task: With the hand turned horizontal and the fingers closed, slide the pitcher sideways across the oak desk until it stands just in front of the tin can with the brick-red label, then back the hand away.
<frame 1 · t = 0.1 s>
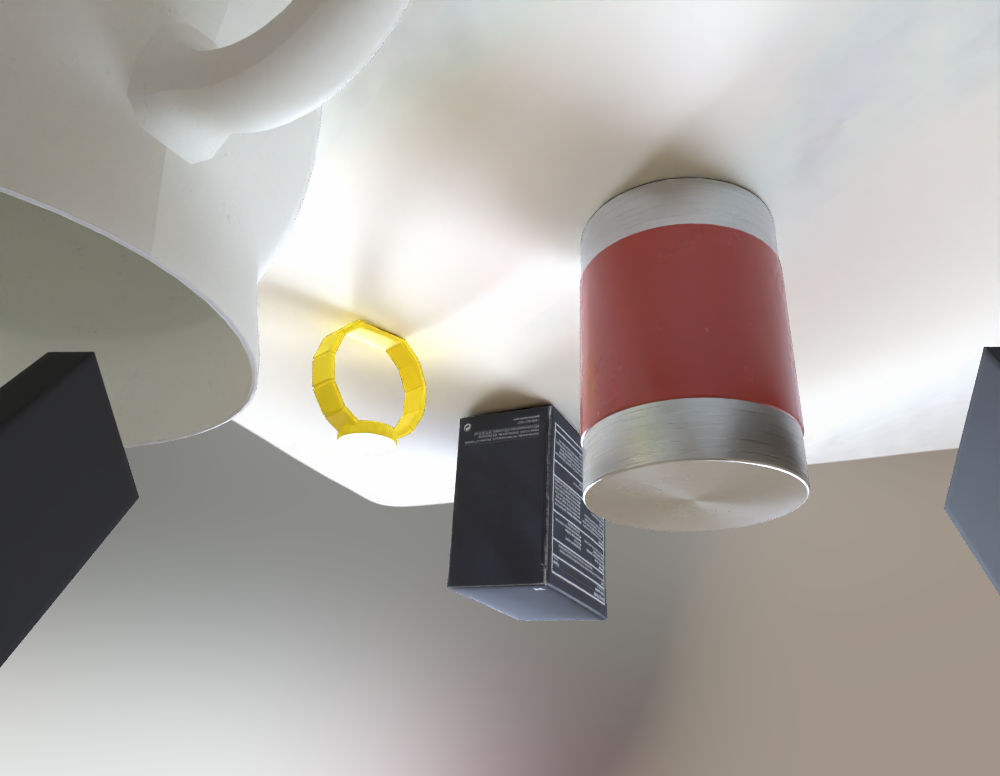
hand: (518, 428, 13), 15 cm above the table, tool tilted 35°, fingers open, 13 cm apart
tin can: (675, 240, 33), on the table
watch: (377, 329, 41), on the table
small box: (534, 438, 53), on the table
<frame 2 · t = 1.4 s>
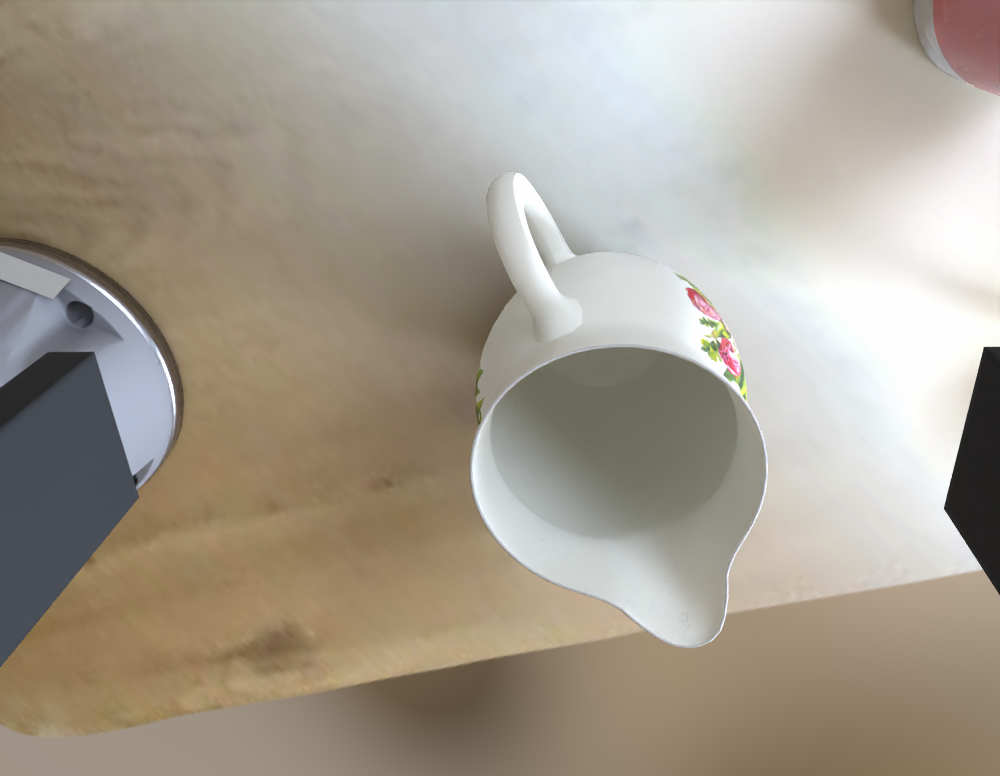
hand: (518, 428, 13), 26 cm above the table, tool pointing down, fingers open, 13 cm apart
pitcher: (593, 308, 40), on the table
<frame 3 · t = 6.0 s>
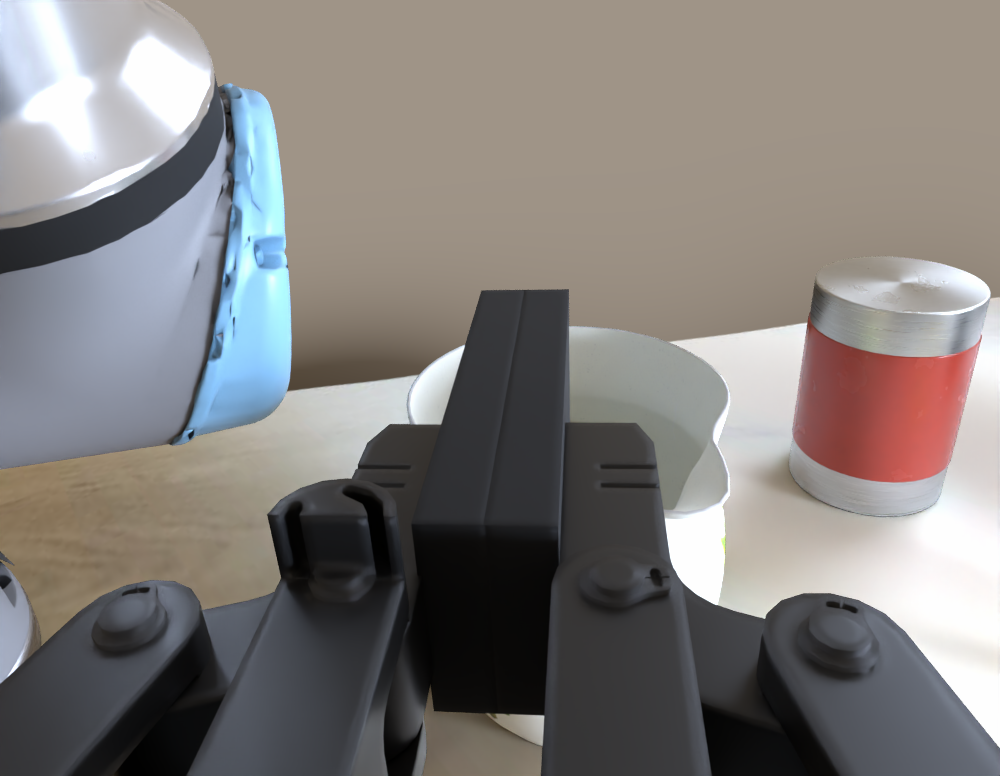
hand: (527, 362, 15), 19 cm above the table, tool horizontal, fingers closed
tin can: (862, 474, 44), on the table
pitcher: (558, 665, 34), on the table
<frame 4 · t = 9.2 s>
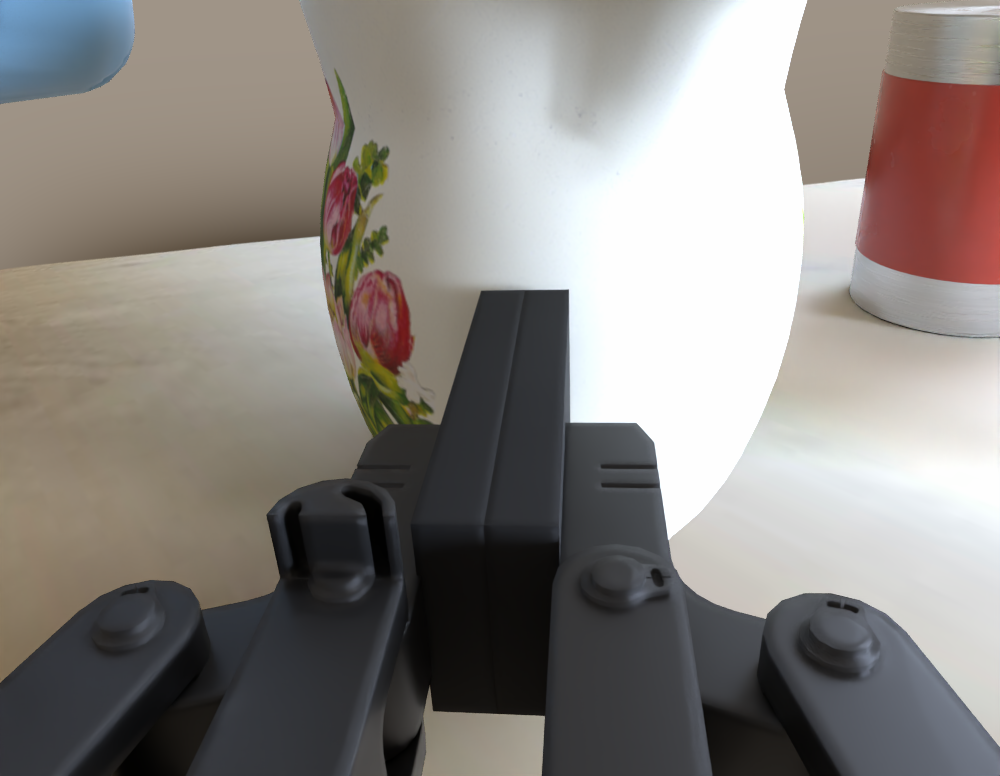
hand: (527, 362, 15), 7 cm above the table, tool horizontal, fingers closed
tin can: (948, 300, 34), on the table
pitcher: (546, 485, 24), on the table, touching gripper
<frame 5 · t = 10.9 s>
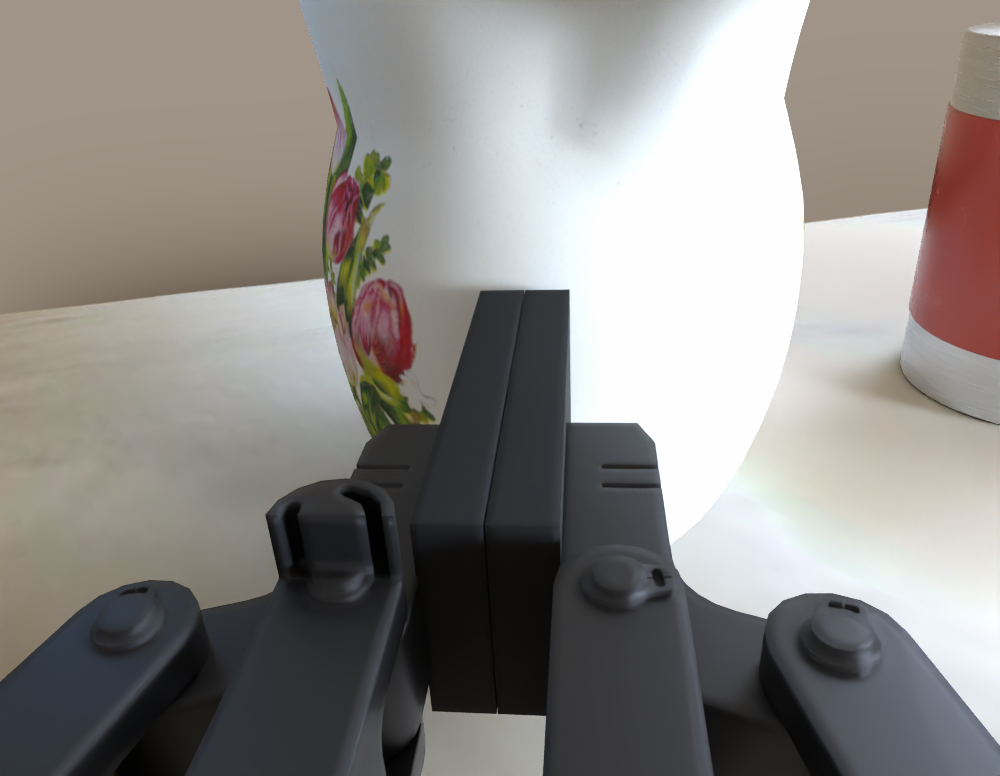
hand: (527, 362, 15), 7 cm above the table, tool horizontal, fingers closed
pitcher: (548, 491, 24), on the table, touching gripper
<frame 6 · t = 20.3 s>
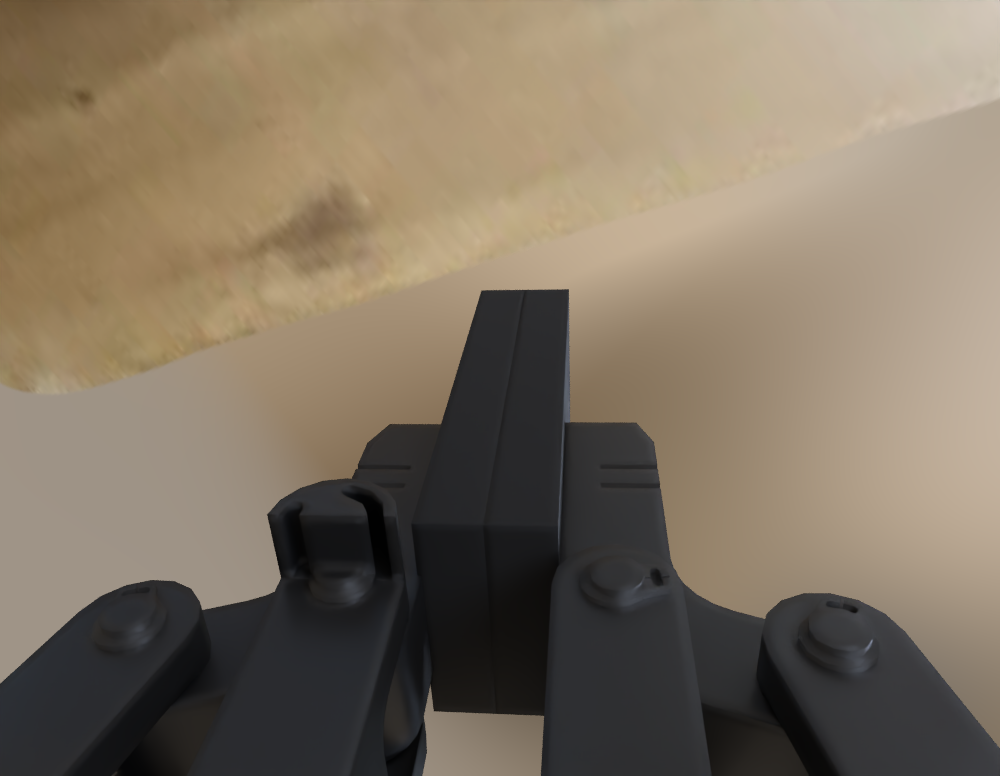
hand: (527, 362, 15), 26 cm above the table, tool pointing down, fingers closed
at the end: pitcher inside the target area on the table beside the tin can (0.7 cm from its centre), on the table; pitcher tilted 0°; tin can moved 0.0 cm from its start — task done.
